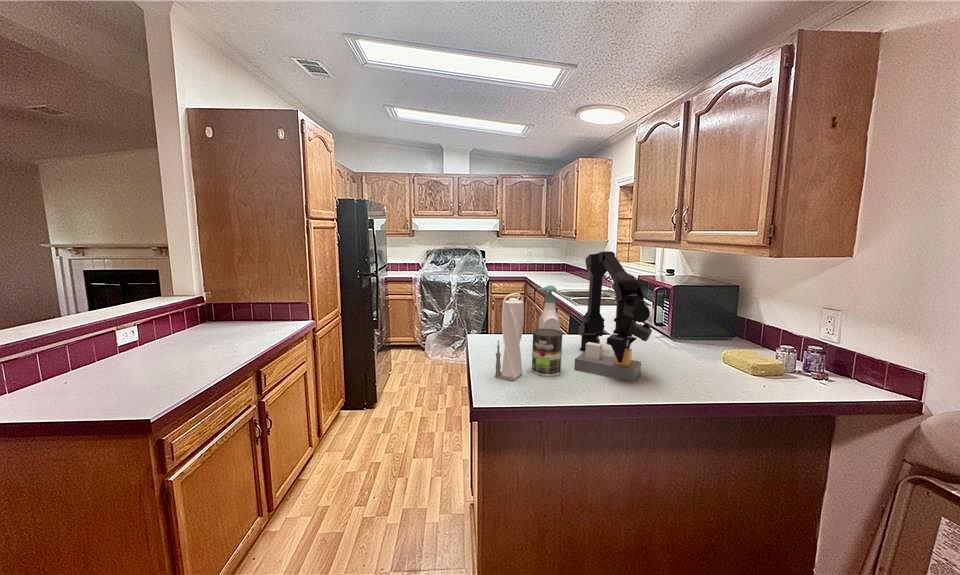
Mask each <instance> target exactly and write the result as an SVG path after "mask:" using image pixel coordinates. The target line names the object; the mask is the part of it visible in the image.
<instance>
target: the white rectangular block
mask: <svg viewBox="0 0 960 575" xmlns="http://www.w3.org/2000/svg"><path fill="white" fill-rule="evenodd" d="M584 352H585V358H589V359H594V360H599V361H600V360H601V359H602V355H603V343H600V344H598V343H592V342H588V343H586V349H585V351H584Z"/></svg>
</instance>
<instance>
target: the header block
mask: <svg viewBox="0 0 960 575" xmlns="http://www.w3.org/2000/svg"><path fill="white" fill-rule="evenodd" d="M641 366H642V362H641V361H639V360H632V359H631V365H630V366H626V365H621V364H615V363H614V356H610V355H605V354H602V359H601V360H600V361H599V360H594V359H589V358H585V351H583V352H582V353H581V354H579V355H578V356H576V357H575V358H574V370H575V371H580V372H583V373H589V374H593V375H597V376H603V377H606V378H607V377H609V378H611V379H617V380H622V381H627V382H632V383H634V382H635V381H636V379H637V378H638V377H639V376H640V375H641V368H642V367H641Z"/></svg>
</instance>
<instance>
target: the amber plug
mask: <svg viewBox="0 0 960 575" xmlns="http://www.w3.org/2000/svg"><path fill="white" fill-rule="evenodd" d="M632 351H633V349H632V348H629V349H628V348H625V352H624V356H623V360H622V363H619V362H618V360H617V358H616V355H615V353H614V352H613V357H614V363H615V364H621V365H626V366H630V365H631V360H632V353H633V352H632Z"/></svg>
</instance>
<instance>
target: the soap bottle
mask: <svg viewBox="0 0 960 575" xmlns="http://www.w3.org/2000/svg"><path fill="white" fill-rule="evenodd" d="M537 290H538V291H540V292H541V291H542V292H548V294H547V295H545V297H544V306H543V307H544V308H543V309H542V312H541V315H540V316H539V319H538V329H554V330H559V331H561V323H560V319H559V316H558V313H557V310H556V297H555V295H552V294H553V293H552V292H557V287H556V286H554V285H547V286H544V287H541V288H540V287H539V288H537Z"/></svg>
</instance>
